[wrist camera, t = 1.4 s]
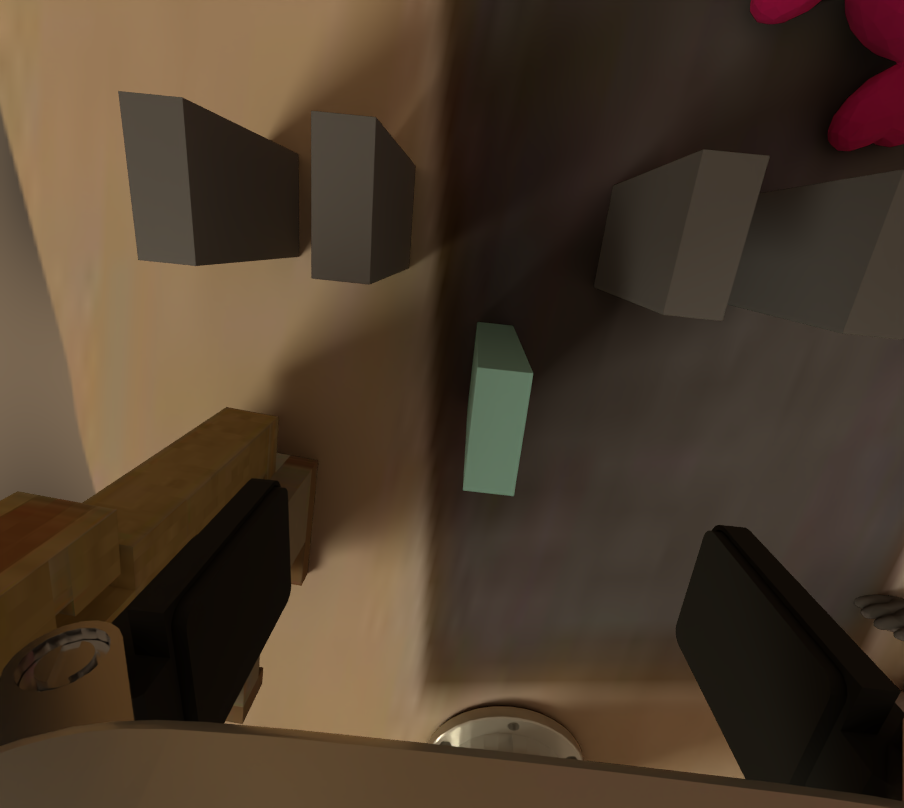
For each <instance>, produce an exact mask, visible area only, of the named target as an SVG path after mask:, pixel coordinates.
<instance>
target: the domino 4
mask: <svg viewBox="0 0 904 808" xmlns="http://www.w3.org/2000/svg"><path fill="white" fill-rule="evenodd" d="M769 157H770V156H766V155H756V154H746V153H736V152H726V151H716V150H705V149H703V150H701V151H698V152H696V153H693V154H691V155H688V156H686V157H683V158H681V159H678V160H676V161H673V162H671V163H668V164H666V165H663V166H661V167H658V168H656V169H653V170H651V171H648V172H646V173H643V174H641V175H638V176H636V177H634V178H631V179H629V180H626V181H624V182H621V183H619V184H616V185H614V186H613V188H612V194H611V199H610V204H609V209H608V215H607V220H606V225H605V230H604V235H603V241H602V246H601V251H600V256H599V261H598V267H597V272H596V277H595V282H594V288H597V289H599V290H602V291H604V292H607V293H609V294H612V295H614V296H617V297H619V298H622V299H624V300H627V301H629V302H632V303H635V304H637V305H640V306H642V307H645V308H647V309H650V310H652V311H655V312H657V313H660V314H662V315H669V316H679V317H689V318H698V319H708V320H717V321H723V317H724V314H725V310H726V307H727V303H728V300H729V296H730V293H731V289H732V286H733V283H734V279H735V276H736V272H737V269H738V265H739V262H740V258H741V255H742V251H743V248H744V244H745V241H746V237H747V234H748V230H749V227H750V223H751V220H752V216H753V213H754V209H755V206H756V202H757V199H758V195H759V192H760V189H761V185H762V182H763V178H764V175H765V171H766V168H767V164H768V161H769Z"/></svg>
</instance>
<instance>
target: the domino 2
mask: <svg viewBox="0 0 904 808" xmlns="http://www.w3.org/2000/svg"><path fill="white" fill-rule="evenodd" d="M415 168H416V166H415V165H414V163H413V162H412V161H411V160H410V158H409V157H408V156H407V155H406V154H405V152H404V151H403V150H402V149H401V147H400V146H399V145H398V144H397V142H396V141H395V140H394V139H393V138H392V136H391V135H390V134H389V133H388V131H387V130H386V129H385V128H384V127H383V125H382V124H381V123H380V122H379V120H378V119H377V118H376V117H369V116H359V115H349V114H339V113H329V112H319V111H311V267H312V278H313V279H322V280H332V281H341V282H351V283H360V284H372V283H374V282H377V281H379V280H382V279H384V278H386V277H389V276H391V275H394V274H396V273H398V272H401V271H403V270H406V269H408V268H409V261H410V246H411V230H412V214H413V199H414V183H415Z"/></svg>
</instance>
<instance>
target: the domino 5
mask: <svg viewBox="0 0 904 808" xmlns="http://www.w3.org/2000/svg"><path fill="white" fill-rule="evenodd" d="M727 304H728V305H731V306H735V307H739V308H743V309H747V310H751V311H755V312H759V313H763V314H767V315H771V316H775V317H779V318H783V319H787V320H790V321H794V322H798V323H802V324H806V325H810V326H814V327H818V328H822V329H826V330H830V331H834V332H838V333H842V334H850V335H860V336H869V337H879V338H889V339H898V340H903V337H904V169H903V170H897V171H891V172H885V173H879V174H873V175H867V176H861V177H855V178H849V179H843V180H837V181H831V182H825V183H819V184H813V185H807V186H801V187H795V188H789V189H783V190H777V191H771V192H765V193H759V195H758V199H757V202H756V206H755V209H754V213H753V216H752V220H751V223H750V227H749V230H748V234H747V237H746V241H745V244H744V248H743V251H742V255H741V258H740V262H739V265H738V269H737V272H736V276H735V279H734V283H733V286H732V289H731V293H730V296H729V300H728V303H727Z"/></svg>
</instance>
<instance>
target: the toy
mask: <svg viewBox="0 0 904 808" xmlns="http://www.w3.org/2000/svg"><path fill="white" fill-rule="evenodd" d="M278 422H279V417H276V416H271V415H266V414H260V413H255V412H250V411H244V410H239V409H234V408H228V407H226V408H224V409H223V410H221V411H220V412H218V413H217V414H215V415H214V416H212V417H211V418H209V419H208V420H206V421H205V422H203V423H202V424H200V425H199V426H197V427H196V428H194V429H193V430H191V431H190V432H188V433H187V434H185V435H184V436H182V437H181V438H179V439H178V440H176V441H175V442H173V443H172V444H170V445H169V446H167V447H166V448H164V449H163V450H161V451H160V452H158V453H157V454H155V455H154V456H152V457H151V458H149V459H148V460H146V461H145V462H143V463H142V464H140V465H139V466H137V467H136V468H134V469H133V470H131V471H130V472H128V473H127V474H125V475H124V476H122V477H121V478H119V479H118V480H116V481H115V482H113V483H112V484H110V485H109V486H107V487H106V488H104V489H103V490H101V491H100V492H98V493H97V494H95V495H93V496H92V497H90V498H89V499H87V500H86V501H84V502H83V503H78V502H73V501H67V500H62V499H56V498H51V497H45V496H40V495H34V494H29V493H24V492H16V493H14V494H12V495H10V496H8V497H7V498H5V499H3V500H1V501H0V676H1V674H2V671H3V669H4V667H5V666H6V665H7V663H8V662H9V661H10V660H11V659H12V657H13V656H14V655H15V654H16V653H18V652H19V651H20V650H21V649H22V648H24V647H25V646H26V645H27V644H29V643H30V642H32V641H34V640H35V639H37V638H39V637H40V636H42V635H44V634H46V633H48V632H50V631H53V630H55V629H57V628H60V627H62V626H65V625H69V624H73V623H77V622H81V621H96V620H98V621H104V622H109V623H112V622H113V621H114V620H115V618H116V617H117V616H118V615H119V614H120V613H121V612H122V611H123V610H124V609H125V608H126V607H127V606H128V605H129V604H130V603H131V602H132V601H133V600H134V599H135V597H136V596H137V595H138V594H139V593H140V592H141V591H142V590H143V589H144V588H145V587H146V586H147V585H148V584H149V583H150V582H151V581H152V580H153V579H154V578H155V577H156V575H157V574H158V573H159V572H160V571H161V570H162V569H163V568H164V567H165V566H166V565H167V564H168V563H169V562H170V561H171V560H172V559H173V558H174V557H175V556H176V555H177V553H178V552H179V551H180V550H181V549H182V548H183V547H184V546H185V545H186V544H187V543H188V542H189V541H190V540H191V539H192V538H193V537H194V536H196V535H197V534H199V533H200V531H201V530H202V529H203V528H204V527H205V526H206V525H207V524H208V523H209V522H210V521H211V520H212V519H213V518H214V517H215V516H216V515H217V514H218V512H219V511H220V510H221V509H222V508H223V507H224V506H225V505H226V504H227V503H228V502H229V501H230V500H231V499H232V498H233V497H234V496H235V495H236V493H237V492H238V491H239V490H240V489H241V488H242V487H243V486H244V485H245V484H246V483H247V482H248V481H249V480H250V479H251V478H257V479H267V480H277V481H279V483H280V485H281V487H282V488H286V489H287V491H288V508H289V537H290V565H291V584H295V585H300V586H301V585H302V583H303V581H304V579H305V577H306V575H307V572H308V561H309V551H310V541H311V530H312V520H313V509H314V499H315V488H316V478H317V468H318V460H313V459H308V458H302V457H297V456H291V455H286V454H281V453H277V438H278ZM259 659H260V655H259V657H258V659H257V661H256V663H255V665H254V667H253V669H252V671H251V673H250V675H249V676H248V678H247V680H246V682H245V684H244V686H243V688H242V690H241V692H240V694H239V696H238V698H237V699H236V701H235V703H234V705H233V707H232V709H231V711H230V713H229V715H228V717H227V719H226V721H229V722H234V723H240V724H243V722H244V720H245V718H246V716H247V713H248V711H249V709H250V707H251V705H252V703H253V701H254V699H255V697H256V695H257V693H258V691H259V689H260V687H261V685H262V677H263V668H262V667H259Z"/></svg>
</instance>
